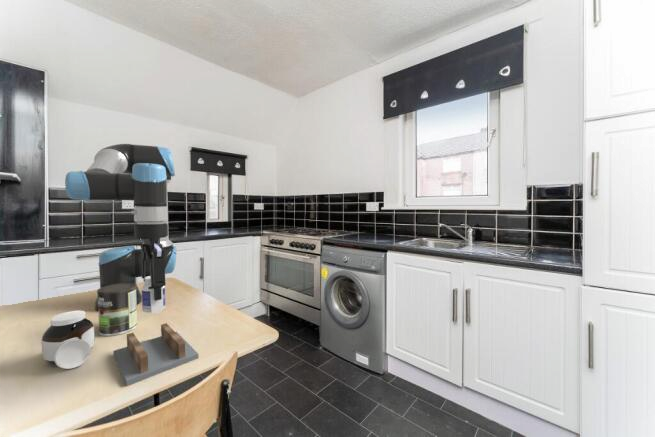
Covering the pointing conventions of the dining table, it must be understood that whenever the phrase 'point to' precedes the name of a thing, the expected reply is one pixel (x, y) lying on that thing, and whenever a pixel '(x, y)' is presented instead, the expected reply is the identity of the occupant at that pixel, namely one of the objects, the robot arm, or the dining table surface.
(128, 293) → the coffee can
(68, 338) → the spread jar
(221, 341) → the dining table surface
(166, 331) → the wooden rail pair
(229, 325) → the dining table surface
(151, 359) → the plate
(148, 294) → the pill bottle
